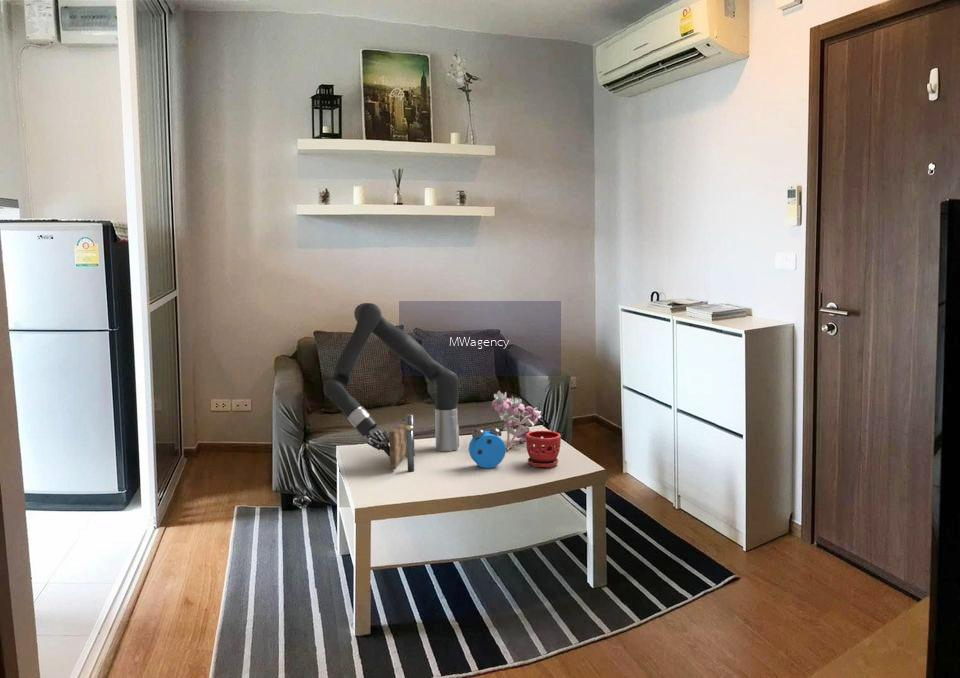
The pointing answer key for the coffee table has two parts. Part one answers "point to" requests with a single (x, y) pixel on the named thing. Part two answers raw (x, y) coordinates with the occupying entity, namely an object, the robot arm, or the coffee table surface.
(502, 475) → the coffee table surface
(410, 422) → the hinge post
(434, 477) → the coffee table surface
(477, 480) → the coffee table surface
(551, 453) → the plant pot
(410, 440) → the post
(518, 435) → the flower
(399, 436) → the gate
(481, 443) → the alarm clock
